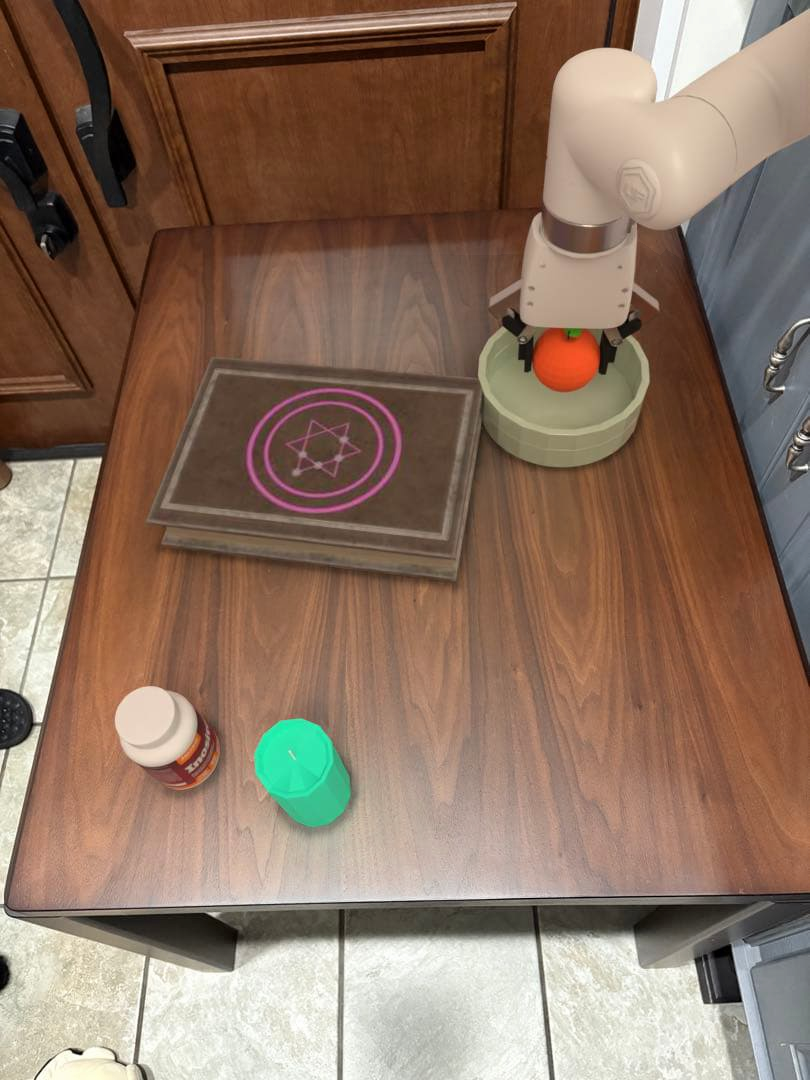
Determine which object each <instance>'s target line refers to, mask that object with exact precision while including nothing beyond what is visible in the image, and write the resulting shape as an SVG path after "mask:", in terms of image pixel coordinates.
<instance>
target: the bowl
mask: <svg viewBox="0 0 810 1080" xmlns="http://www.w3.org/2000/svg"><path fill="white" fill-rule="evenodd" d="M547 329H549V327H540V328H539V329H538V330H537V332H536V333H535V334H534V345H533V349H534V346H535V343H536V341H537V340H538V339H539V337H540V336H541V335H542V333H543V332H545V331H546V330H547ZM587 330H589V331H590V332H591V333H592V334H593V335H594V336H595V338H596V340H597V342H598V345H599V346H600V341H601V336H602V330H603V329H587ZM518 349H519V343H518V342H517V337H516V336H514V335H513V334H512V333H511V332H509V331H508V330H507V329H506V328H504V327H503V325H501V327H500V328H499V329H497V331H495V333H493V334H492V335H491V336H490V337H489V338H487V341H486V342H485V345H484V347H483V349H482V351H481V353H480V354H479V357H478V370H477V378H478V379H479V382H480V385H481V388H482V391H483V397H482V403H481V409H480V413H481V416H482V426H483V427H484V430H485V431H486V432H487V434H488V435H489V437H490V438H491V439H492V440H493V441H494V442H495V444H497V445H498V446H499V447H500V448H502V449H503V450H504V451H506V452H507V453H509V454H510V455H513V456H514V457H516V458H518V459H520V460H523V461H525V462H528V463H530V464H533V465H537V466H542V467H549V468H572V467H573V468H574V467H581V466H585V465H589V464H593V463H596V462H599V461H601V460H603V459H605V458H608V457H609V456H610V455H612V454H613V453H615V452H617V451H618V450H619V449H620V448H621V447H623V446H624V445H625V444H626V442H627V441H628V440H629V439H630V438H631V436H632V435H633V433H634V432H635V429H636V427H637V425H638V421H639V420H640V419H639V418H640V416H641V413H642V410H643V406H644V403H645V400H646V396H647V392H648V388H649V386H650V382H651V381H650V380H651V379H650V368H649V367H650V365H649V360H648V358H647V356H646V354H645V352H644V350H643V349H642V346H641V344H640V342H639V341H638V340H637V339H636V338H635V337H634V336H633V335H630V336H628V337H626V338H625V339H623V343H622V344H621V345H620V346H618V347H617V352H616V356H615V361H614V363H608V367H607V372H606V375H601V374H600V373H599V370H597V373H596V374H595V376H594V377H593V379H592V380H591V381H590V382H589V383H588V384H587V385H585V386H584V387H582V388H580V389H578V390H575V391H571V392H557V391H554V390H551V389H549V388H547V387H546V386H545V385H543V384H542V383H541V382H540V381H539V380H538V378H537V377H536V375H535V373H534V370H533V367H531V371H529V373H528V372H524V361H525V360H518Z"/></svg>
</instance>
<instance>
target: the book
mask: <svg viewBox="0 0 810 1080" xmlns="http://www.w3.org/2000/svg"><path fill="white" fill-rule="evenodd" d="M482 397H483V391H482V388H481V385H480V382H479V379H478V377H469V376H457V375H446V374H445V375H443V374H432V373H420V372H419V373H418V372H406V371H397V370H396V371H394V370H385V369H383V370H382V369H368V368H360V367H359V368H357V367H347V366H346V367H345V366H333V365H321V364H310V363H309V364H308V363H296V362H286V361H285V362H282V361H273V360H272V361H271V360H260V359H246V358H234V357H223V356H211V357H210V359H209V362H208V364H207V367H206V369H205V372H204V375H203V378H202V379H201V382H200V385H199V387H198V390H197V392H196V394H195V397H194V400H193V402H192V404H191V407H190V410H189V412H188V415H187V417H186V420H185V422H184V425H183V427H182V430H181V432H180V435H179V437H178V440H177V442H176V444H175V447H174V450H173V452H172V454H171V458H170V460H169V462H168V464H167V468H166V469H165V473H164V475H163V478H162V479H161V482H160V484H159V487H158V490H157V492H156V495H155V497H154V500H153V502H152V505H151V507H150V510H149V512H148V515H147V516H146V520H145V523H146V524H147V525H148V526H149V525H150V526H156V527H157V526H159V527H165V531H164V534H163V537H162V539H161V542H160V545H161V547H163V548H172V549H179V550H189V551H198V552H207V553H213V554H222V555H231V556H236V557H237V556H238V557H247V558H254V559H263V560H271V561H279V562H288V563H295V564H296V563H297V564H304V565H313V566H321V567H328V568H336V569H346V570H353V571H354V570H355V571H362V572H369V573H370V572H371V573H378V574H387V575H395V576H402V577H403V576H404V577H411V578H418V579H419V578H420V579H427V580H436V581H444V582H452V583H457V581H458V575H459V569H460V563H461V557H462V551H463V544H464V539H465V532H466V525H467V519H468V513H469V508H470V501H471V494H472V488H473V481H474V476H475V470H476V464H477V458H478V453H479V452H478V451H479V445H480V440H481V434H482V433H481V432H482V426H483V424H482V416H481V413H480V409H481V403H482Z"/></svg>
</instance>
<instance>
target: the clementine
mask: <svg viewBox="0 0 810 1080" xmlns="http://www.w3.org/2000/svg"><path fill="white" fill-rule="evenodd" d="M599 364H600V347H599V345H598V342H597V340H596V338H595V336H594V335H593V334H592V333H591V332H590V331H589V330H587V329H586V328H549V329H547V330H546V331H545V332H543V333H542V335H541V336H540V337H539V339H538V340H537V341H536V343H535V346H534V349H533V356H532V367H533V370H534V373H535V375H536V377H537V378H538V380H539V381H540V382H541V383H542V384H543V385H545V386H546V387H547V388H549V389H551V390H554V391H557V392H571V391H575V390H578V389H580V388H582V387H584V386H585V385H587V384H588V383H589V382H590V381H591V380H592V379H593V377H594V376H595V374H596V373H597V370H598V368H599Z"/></svg>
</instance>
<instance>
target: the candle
mask: <svg viewBox="0 0 810 1080" xmlns="http://www.w3.org/2000/svg"><path fill="white" fill-rule="evenodd" d="M253 757H254V769H255V770H254V773H255V776H256V777H257V778H258V780H259V781H260V783H261V785H262V786H263V787H264V789H265V790H266V792H268V794H269V795H270V796H271V797H272V798H273V799H274V800H275V802H276V803H277V804H278V805H279V806H280V807H281V808H282V810H284V812H286V814H287V815H288V816H289V817H290V818H291V819H292V820H293V821H294V822H297V823H299V824H301V825H304V826H305V827H309V828H316V827H321V826H327V825H330V824H331V823H333V822H334V821H335V820H336V819H338V818H339V817H340V816H341V815H343V814H344V812H345V811H346V808H347V806H348V804H349V801H350V799H351V796H352V790H351V789H352V788H351V780H350V779H351V778H350V775H349V773H348V771H347V768H346V766H345V765H344V763H343V761H342V759H341V757H340V755H339V752H338V751H337V749H336V747H335V745H334V743H333V741H332V740H331V738H330V737H329V736H328V735H327V733H326V732H325V731H324V729H323V728H322V727H321V725H319V724H316V723H313V722H311V721H309V720H306V719H304V718H300V717H299V718H293V719H283V720H282V719H281V720H279V721H278V722H276V724H274V725H273V726H272V727H270V728H269V729H268V730H267V731H265V732H264V733H263V735H262V737H261V738H260V740H259V743H258V744H257V746H256V749H255V751H254V753H253Z"/></svg>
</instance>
